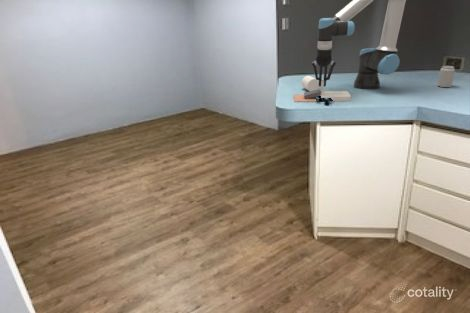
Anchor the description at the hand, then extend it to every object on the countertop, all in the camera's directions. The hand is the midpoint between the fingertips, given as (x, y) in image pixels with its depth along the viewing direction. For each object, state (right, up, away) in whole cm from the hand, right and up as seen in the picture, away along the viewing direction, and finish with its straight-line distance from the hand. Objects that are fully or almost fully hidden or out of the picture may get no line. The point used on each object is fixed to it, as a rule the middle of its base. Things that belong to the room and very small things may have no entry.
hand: (321, 92), depth 207 cm
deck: (+7, -3, +1) cm, 8 cm away
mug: (0, +5, +20) cm, 21 cm away
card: (-5, -2, +2) cm, 5 cm away
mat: (-8, -3, +3) cm, 9 cm away
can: (+77, +6, +15) cm, 79 cm away
